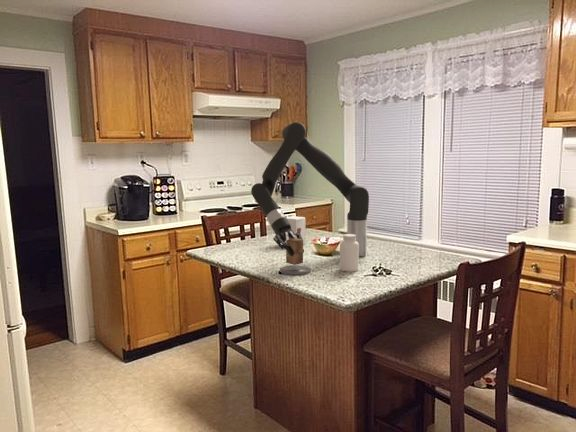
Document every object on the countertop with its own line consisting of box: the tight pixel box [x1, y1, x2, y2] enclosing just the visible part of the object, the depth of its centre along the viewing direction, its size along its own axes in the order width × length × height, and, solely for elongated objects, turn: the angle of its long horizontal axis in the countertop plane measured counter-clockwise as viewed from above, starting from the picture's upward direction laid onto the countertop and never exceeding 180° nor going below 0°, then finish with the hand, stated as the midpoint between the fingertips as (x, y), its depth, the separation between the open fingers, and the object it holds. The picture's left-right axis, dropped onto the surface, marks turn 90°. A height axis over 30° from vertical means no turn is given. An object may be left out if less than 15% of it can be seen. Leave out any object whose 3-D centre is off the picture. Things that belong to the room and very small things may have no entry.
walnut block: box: [285, 238, 304, 265], centre depth 200 cm, size 5×5×10 cm
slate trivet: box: [279, 264, 312, 276], centre depth 201 cm, size 13×13×1 cm
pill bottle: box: [339, 233, 360, 273], centre depth 202 cm, size 8×8×15 cm
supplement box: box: [285, 215, 306, 246], centre depth 253 cm, size 9×9×15 cm
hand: (297, 253), depth 199 cm, fingers closed on walnut block, 5 cm apart
